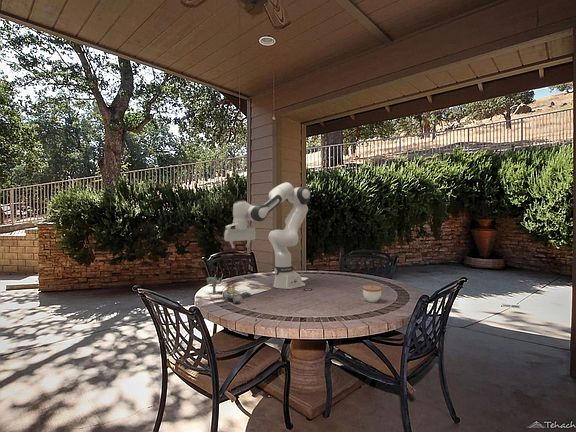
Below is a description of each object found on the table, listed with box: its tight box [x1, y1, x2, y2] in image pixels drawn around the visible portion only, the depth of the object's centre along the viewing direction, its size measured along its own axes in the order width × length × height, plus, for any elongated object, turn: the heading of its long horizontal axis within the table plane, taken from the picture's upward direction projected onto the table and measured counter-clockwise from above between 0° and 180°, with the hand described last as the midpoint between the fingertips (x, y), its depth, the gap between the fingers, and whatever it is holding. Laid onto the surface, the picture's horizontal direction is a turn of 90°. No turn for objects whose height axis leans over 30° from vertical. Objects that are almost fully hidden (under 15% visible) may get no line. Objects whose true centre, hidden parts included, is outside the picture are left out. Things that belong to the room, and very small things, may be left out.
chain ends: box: [222, 289, 252, 305], centre depth 200 cm, size 16×16×4 cm
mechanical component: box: [205, 276, 223, 295], centre depth 215 cm, size 3×10×10 cm, turn 79°
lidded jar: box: [362, 284, 382, 303], centre depth 196 cm, size 11×11×9 cm
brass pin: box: [228, 284, 235, 294], centre depth 201 cm, size 3×3×8 cm
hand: (240, 247), depth 214 cm, fingers open, 8 cm apart
